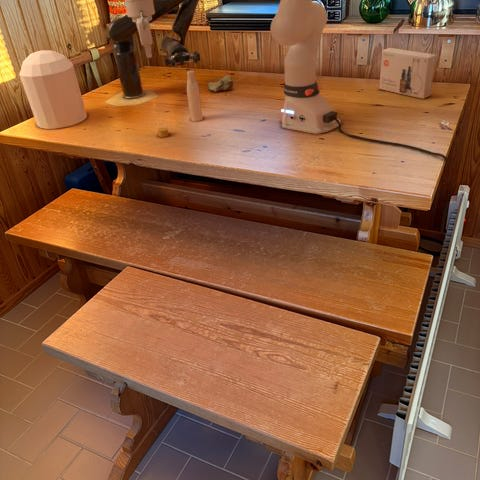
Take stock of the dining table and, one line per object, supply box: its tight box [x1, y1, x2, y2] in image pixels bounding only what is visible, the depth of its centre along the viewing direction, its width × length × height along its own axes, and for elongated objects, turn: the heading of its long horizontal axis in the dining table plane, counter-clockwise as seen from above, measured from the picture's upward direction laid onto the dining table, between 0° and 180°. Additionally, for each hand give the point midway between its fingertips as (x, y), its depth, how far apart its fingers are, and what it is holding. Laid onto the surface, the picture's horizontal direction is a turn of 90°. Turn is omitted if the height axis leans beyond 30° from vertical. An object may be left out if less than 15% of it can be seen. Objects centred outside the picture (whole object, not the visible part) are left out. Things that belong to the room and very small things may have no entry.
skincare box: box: [378, 47, 437, 100], centre depth 184 cm, size 21×6×16 cm, turn 40°
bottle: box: [186, 70, 204, 122], centre depth 179 cm, size 5×5×18 cm
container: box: [19, 49, 88, 130], centre depth 189 cm, size 21×21×28 cm
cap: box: [156, 127, 170, 138], centre depth 172 cm, size 4×4×2 cm
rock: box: [207, 74, 234, 93], centre depth 212 cm, size 11×6×10 cm
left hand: (185, 62), depth 181 cm, fingers open, 8 cm apart
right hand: (148, 54), depth 156 cm, fingers open, 8 cm apart
